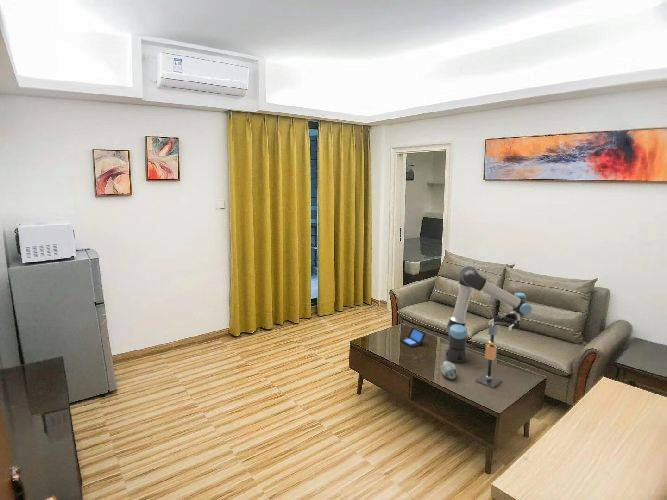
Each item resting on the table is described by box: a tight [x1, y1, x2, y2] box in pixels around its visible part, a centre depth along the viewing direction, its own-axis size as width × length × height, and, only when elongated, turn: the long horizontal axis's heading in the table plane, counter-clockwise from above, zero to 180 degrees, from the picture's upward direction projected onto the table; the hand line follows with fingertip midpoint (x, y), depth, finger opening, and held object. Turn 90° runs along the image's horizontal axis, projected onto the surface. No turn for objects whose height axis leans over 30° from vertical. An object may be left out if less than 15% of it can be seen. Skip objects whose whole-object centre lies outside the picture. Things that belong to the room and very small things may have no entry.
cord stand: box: [474, 322, 503, 389], centre depth 257 cm, size 12×12×39 cm
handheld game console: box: [399, 326, 426, 348], centre depth 317 cm, size 16×13×9 cm
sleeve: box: [484, 344, 498, 361], centre depth 257 cm, size 5×5×8 cm
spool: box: [440, 360, 457, 380], centre depth 267 cm, size 14×10×10 cm
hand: (498, 325), depth 270 cm, fingers open, 13 cm apart
